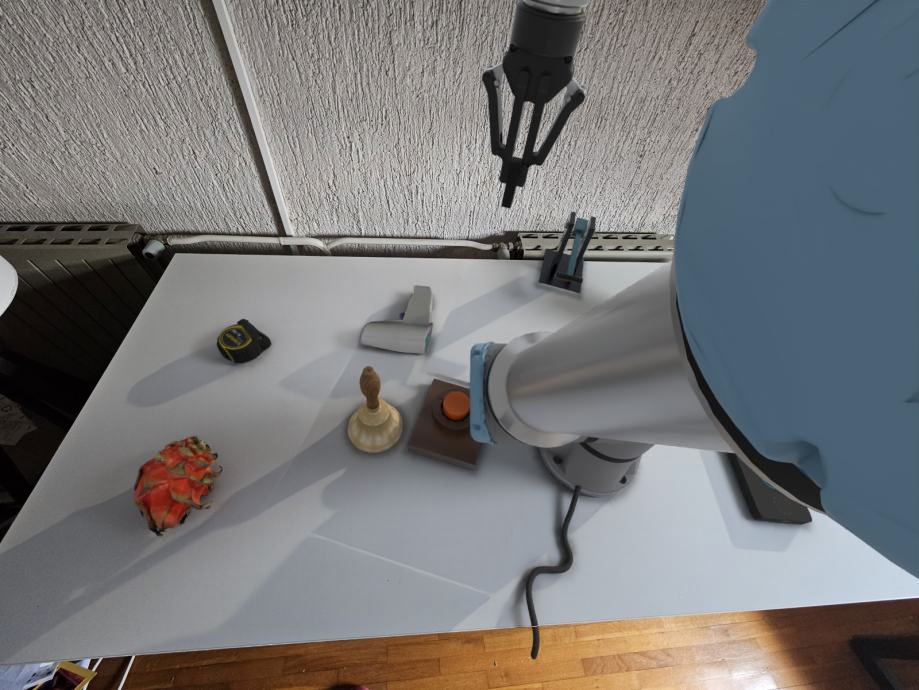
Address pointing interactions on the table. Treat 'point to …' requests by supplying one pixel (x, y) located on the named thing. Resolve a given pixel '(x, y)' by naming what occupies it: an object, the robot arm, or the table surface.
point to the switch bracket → (566, 257)
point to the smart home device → (767, 497)
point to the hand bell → (374, 418)
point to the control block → (444, 430)
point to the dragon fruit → (175, 483)
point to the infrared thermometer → (404, 326)
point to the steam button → (456, 406)
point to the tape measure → (242, 342)
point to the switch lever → (574, 252)
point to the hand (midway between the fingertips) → (507, 202)
